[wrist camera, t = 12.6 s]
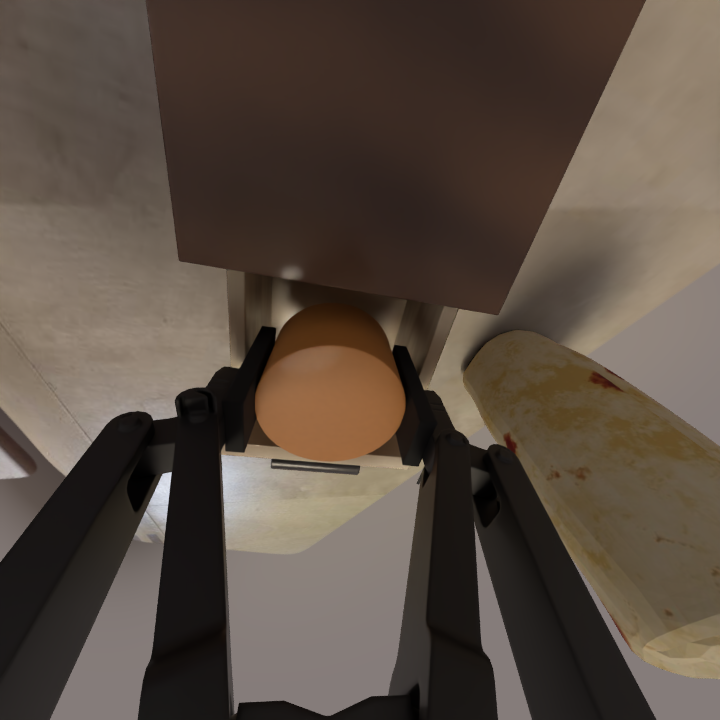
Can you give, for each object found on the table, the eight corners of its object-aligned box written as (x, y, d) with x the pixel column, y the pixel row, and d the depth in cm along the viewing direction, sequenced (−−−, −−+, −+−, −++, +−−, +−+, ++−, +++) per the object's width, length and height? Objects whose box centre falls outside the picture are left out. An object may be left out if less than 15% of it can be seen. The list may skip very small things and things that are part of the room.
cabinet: (437, 264, 21) (498, 315, 13) (247, 228, 19) (178, 261, 11) (557, -107, 13) (935, -614, 5) (243, -240, 11) (-51, -1514, 3)
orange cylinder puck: (272, 395, 19) (253, 456, 15) (277, 292, 15) (253, 333, 11) (376, 406, 20) (386, 466, 16) (402, 312, 16) (425, 357, 12)
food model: (460, 398, 28) (638, 716, 11) (449, 342, 25) (680, 679, 8) (562, 368, 27) (928, 676, 10) (565, 306, 24) (1123, 610, 7)
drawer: (381, 431, 29) (393, 505, 22) (252, 418, 27) (224, 495, 20) (449, 215, 19) (509, 233, 12) (253, 172, 17) (196, 165, 10)
